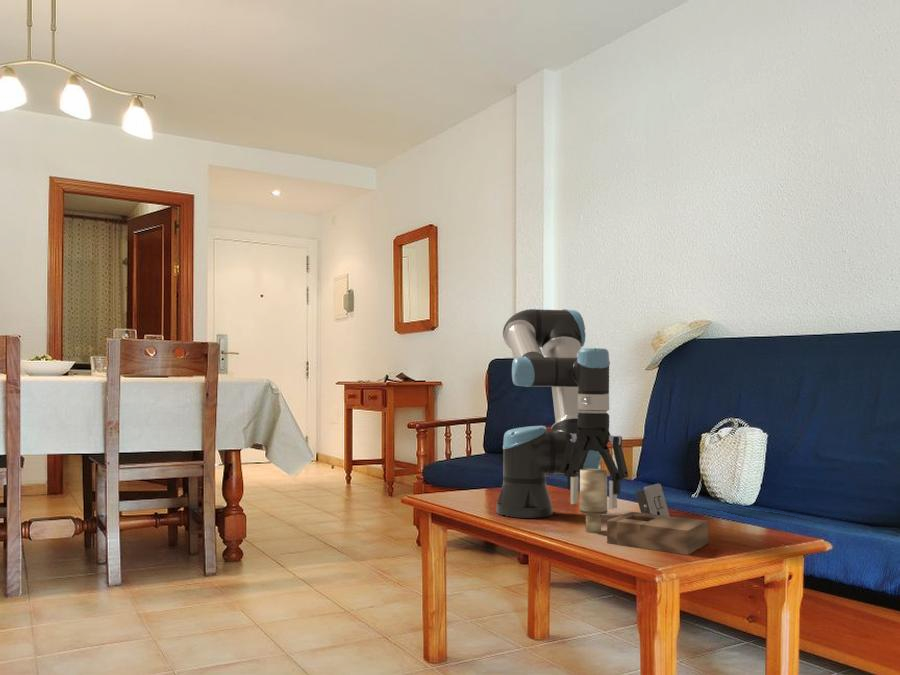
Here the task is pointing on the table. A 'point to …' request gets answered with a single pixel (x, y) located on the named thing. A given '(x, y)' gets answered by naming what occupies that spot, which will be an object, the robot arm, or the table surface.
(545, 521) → the table surface
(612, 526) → the board
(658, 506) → the electrical switch
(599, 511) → the leg peg
